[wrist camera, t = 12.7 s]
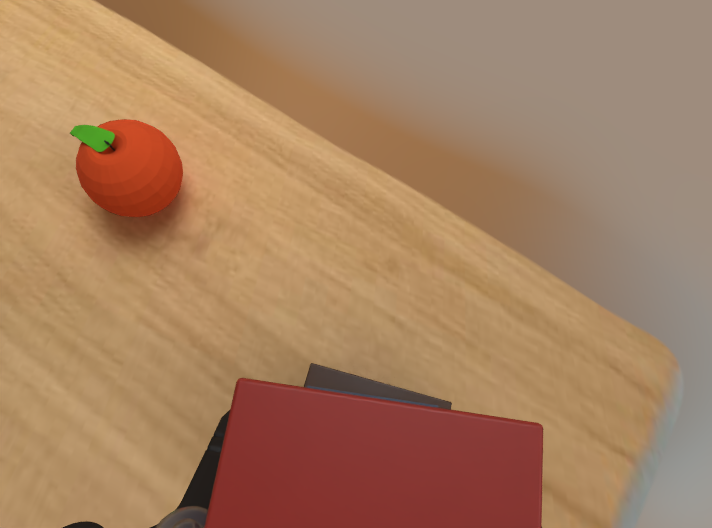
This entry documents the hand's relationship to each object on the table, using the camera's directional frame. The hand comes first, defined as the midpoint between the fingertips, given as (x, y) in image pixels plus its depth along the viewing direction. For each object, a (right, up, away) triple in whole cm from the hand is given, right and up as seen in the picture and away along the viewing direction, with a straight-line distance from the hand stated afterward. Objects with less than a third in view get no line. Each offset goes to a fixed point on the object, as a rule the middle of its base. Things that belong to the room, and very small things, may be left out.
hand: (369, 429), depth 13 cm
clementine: (-17, +11, +24) cm, 31 cm away
